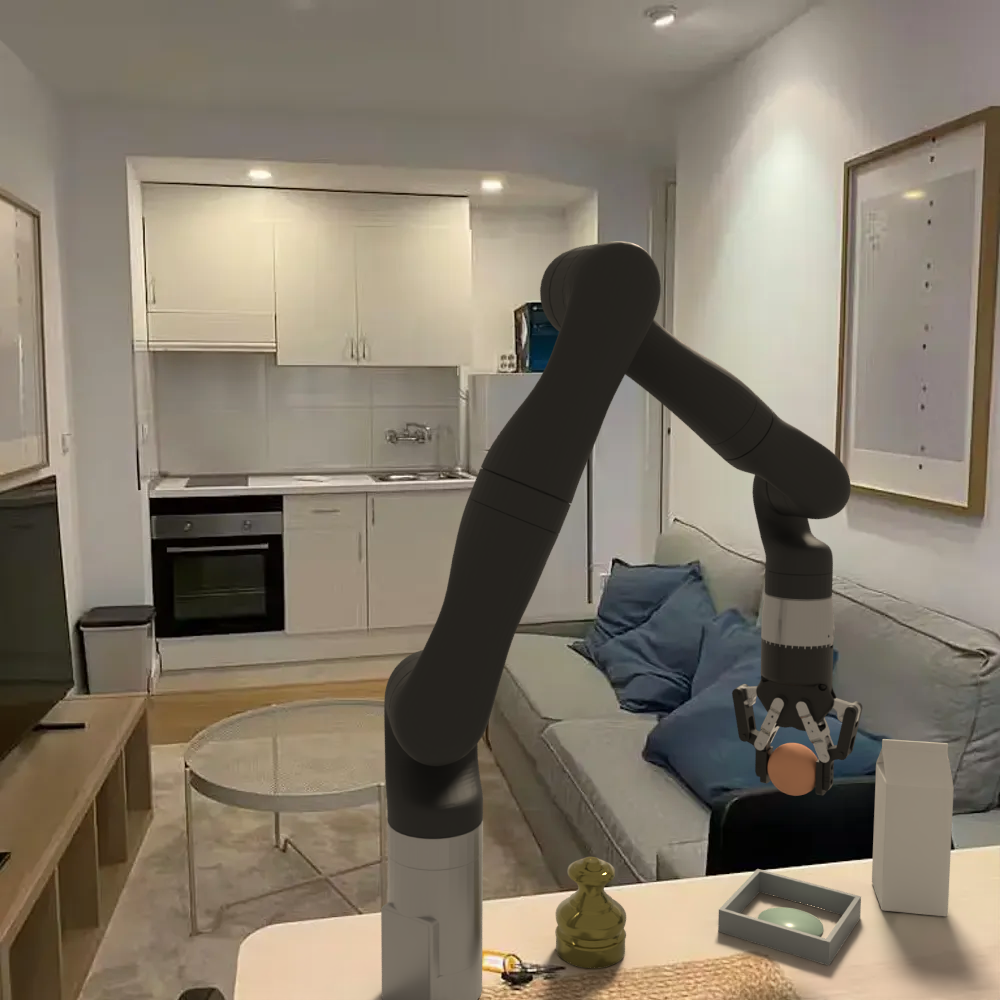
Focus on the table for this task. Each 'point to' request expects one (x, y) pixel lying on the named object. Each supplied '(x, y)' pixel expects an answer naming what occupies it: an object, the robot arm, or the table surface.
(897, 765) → the milk carton
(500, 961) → the table surface
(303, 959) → the table surface
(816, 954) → the grey soap tray
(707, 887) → the table surface
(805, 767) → the ball
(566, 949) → the olive green chess piece
